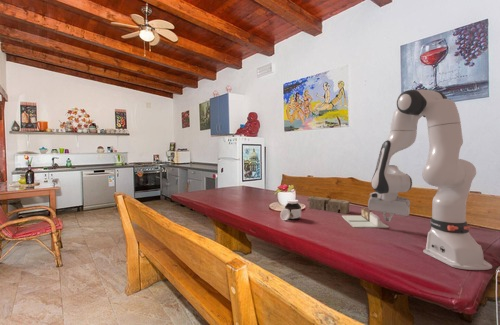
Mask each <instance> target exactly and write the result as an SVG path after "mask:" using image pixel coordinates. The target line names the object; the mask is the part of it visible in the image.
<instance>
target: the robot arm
mask: <svg viewBox="0 0 500 325" xmlns="http://www.w3.org/2000/svg"><path fill="white" fill-rule="evenodd" d="M396 108H397V109H395V110H394V112H393V115H392V118H391V124H390V132H389V135H388V138H387V139H386V140H385V141H383V143H382V145H381V147H380V151H379V154H378V158H377V162H376V167H375V171H374V173H373V176H372V179H371V181H370V182H371V185H370V186H371V188H372V190H374V191H373V192H371V193H369V198H368V201H367V209H368V210H371V211H376V212H380V213H381V214H382V217H383V220H384V221H386V222H392V218H393V217H394V215H397V216H402V217H407V216H409V215H410V214H411V209H410V205H411V201H410V199H409V198H407V197H402V196H399V193H408V192H409V191H410V190H411V189H412V186H413V179H412V177H411V176H410V175H408V174H407V173H405V172H403V171H401V170H400V169H399V166H397V165H394V164H391V165H390V163H391V162H390V161H391V159H392V157H393V156H394V155H395V154H396V153H399V152H401V151H403V150H406V149H408V148H410V147H411V146H413V145H414V143H415V142H416V139H417V134H418V133H417V131H418V122H419V120H420V119H421V118H422V117H423V118H425V120H426V125H427V126H426V127H427V133H428V144H429V147H428V148H429V149H428V155H427V160H426V164H425V165H424V167H423V168H422V175H421V176H422V179H423V180H424V181H425V183H426V184H428V185H430V186H431V187H437V191H436V193H435V195H434V196H433V198H432V200H431V201H432V203H431V204H432V205H431V206H432V208H431V209H432V210H431V212H432V213H431V214H432V215H431V217H430V220H429V222H430V227H431V228H430V230H429V231H428V232H427V238H426V246H425V248H424V249H423V254H426V255H428V256H429V257H432V258H434V259H436V260H438V261H440V262H442V263H444V264H446V265H447V266H449V267H452V268H454V269H455V268H456V269H460V270H469V271H486V270H491V269H493V265H492V264H491V263H490V262H488V261H486V260H485V259H484V251H483V249H482V245H481V244H478V243H477V241H476V240H475V239H474V238H473V236H472V234H470V229H471V226H469V225H468V223H467V220H466V219H467V215H466V214H467V201H468V196H469V193H470V189H471V186H472V183H473V180H474V179H475V177H476V176H477V169H476V168H477V167H475V165H474V164H473V163H471V162H470V161H468V160H465V159H462V158H460V150H461V148H462V146H463V144H464V139H463V132H462V124H461V118H460V112H459V110H458V107H457V105H456V102H455V101H454V100H453V99H449V98H448V96H447V95H446V94H444V93H443V92H441V91H440V90H439V91H438V90H428V89H409V90H405V91H403V92H401V93H400V94H399V96H398V97H397V100H396ZM387 213H388V214H389V217H388V216H387Z"/></svg>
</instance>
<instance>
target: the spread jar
mask: <svg viewBox="0 0 500 325" xmlns="http://www.w3.org/2000/svg"><path fill="white" fill-rule="evenodd" d="M279 216H280V219H281V220H282V221H288V220H289V221H297V220H299V219H300V218H301V217H302V206H301V205H300V203H299V200H298V199H287V203H286V204H285V207H284V208H283V209H282V210H281V211H280V215H279Z"/></svg>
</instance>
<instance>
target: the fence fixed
mask: <svg viewBox="0 0 500 325" xmlns="http://www.w3.org/2000/svg"><path fill="white" fill-rule="evenodd" d="M370 212H372V210H369V209H367V208H365V207H363V206H362V207H361V215H360V216H363V217H365V218H366V219H367V220H368V221H370Z"/></svg>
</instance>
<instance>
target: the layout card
mask: <svg viewBox="0 0 500 325" xmlns="http://www.w3.org/2000/svg"><path fill="white" fill-rule="evenodd" d="M341 217H342V218H343V220H344V221H346V222H347V223H348V224H349V225H350V226H351V227H353V228H362V229H363V228H366V229H367V228H368V229H369V228H372V229H373V228H375V229H376V228H381V229H382V228H383V229H384V228H390V227H389V225H387V224H385V223H383V222H382V221H381V220H380V227H377V226H376V225H374V224H373V223H372V222H370V221H368V220H367V219H366V218H365V217H363V216H362V215H341Z"/></svg>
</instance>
